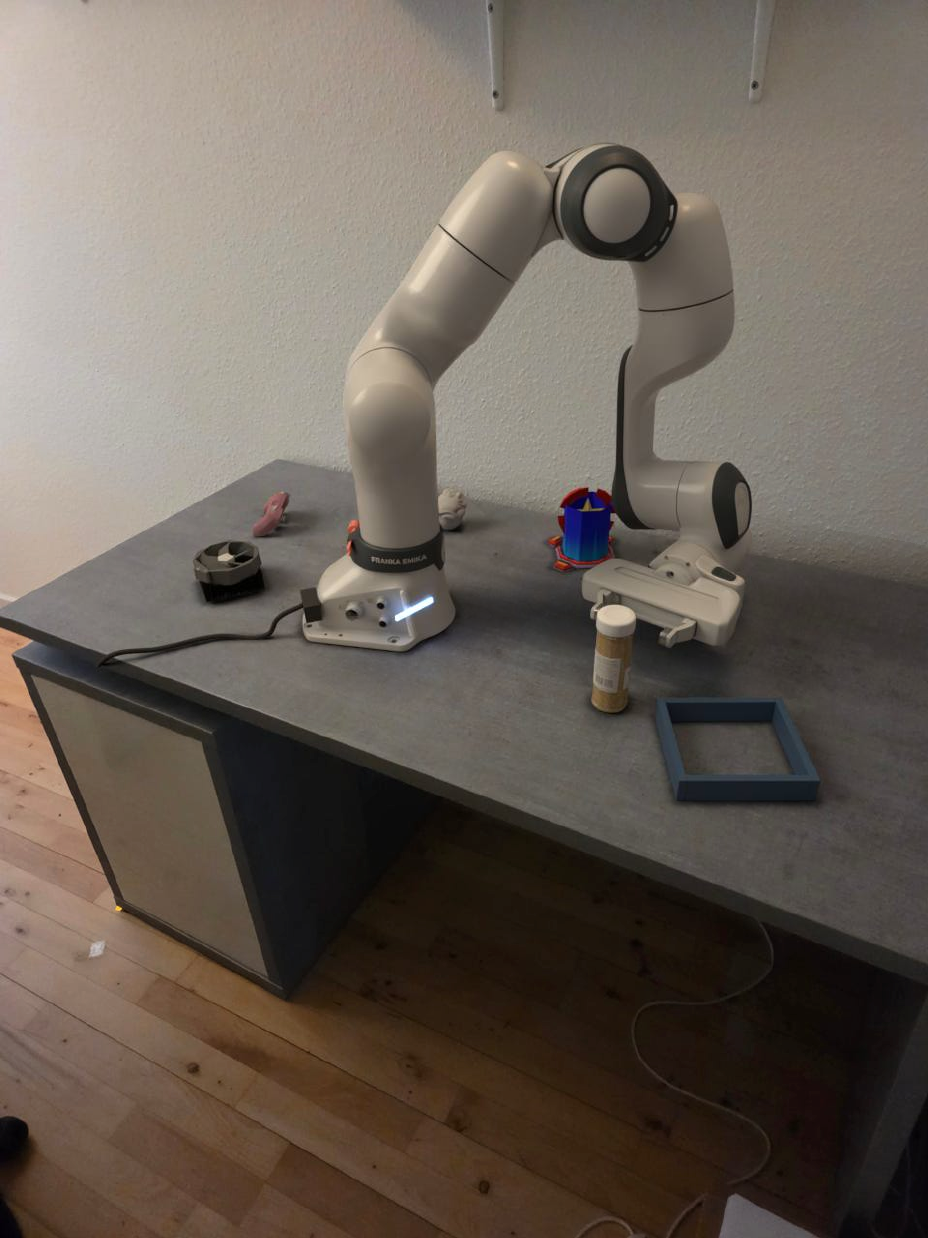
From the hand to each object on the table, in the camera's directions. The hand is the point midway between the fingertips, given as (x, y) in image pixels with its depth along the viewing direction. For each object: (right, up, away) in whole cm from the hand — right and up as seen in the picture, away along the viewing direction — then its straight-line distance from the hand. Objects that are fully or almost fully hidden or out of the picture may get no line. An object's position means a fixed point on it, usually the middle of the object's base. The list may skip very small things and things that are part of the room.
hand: (628, 628), depth 97 cm
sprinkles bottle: (-2, -10, +3) cm, 10 cm away
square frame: (+10, -15, -6) cm, 19 cm away
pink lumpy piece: (-55, +18, +47) cm, 74 cm away
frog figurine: (-23, +17, +44) cm, 53 cm away
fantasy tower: (0, +12, +35) cm, 37 cm away
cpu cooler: (-57, +6, +30) cm, 65 cm away
